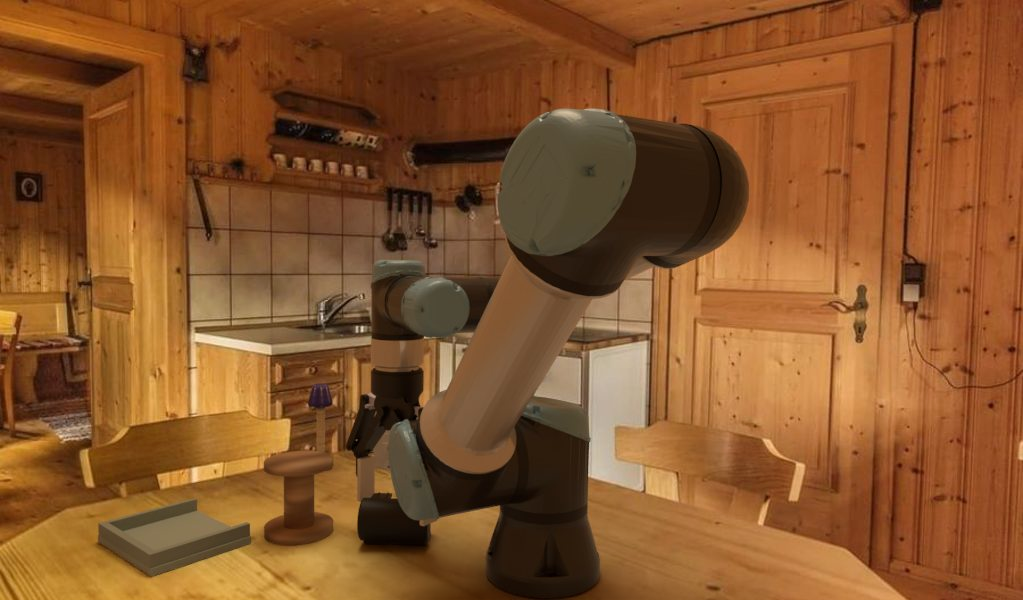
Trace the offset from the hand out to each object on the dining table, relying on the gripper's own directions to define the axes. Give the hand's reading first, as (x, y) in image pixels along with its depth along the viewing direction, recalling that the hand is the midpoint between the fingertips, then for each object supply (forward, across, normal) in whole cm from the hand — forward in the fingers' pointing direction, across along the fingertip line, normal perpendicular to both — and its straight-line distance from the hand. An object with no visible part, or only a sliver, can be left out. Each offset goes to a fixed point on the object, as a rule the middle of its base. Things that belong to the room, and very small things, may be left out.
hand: (395, 510), depth 101 cm
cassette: (+5, +26, -25) cm, 36 cm away
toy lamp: (+5, +38, -14) cm, 40 cm away
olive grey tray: (+5, +24, +21) cm, 32 cm away
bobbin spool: (+5, +14, +7) cm, 16 cm away
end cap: (+5, 0, 0) cm, 5 cm away
